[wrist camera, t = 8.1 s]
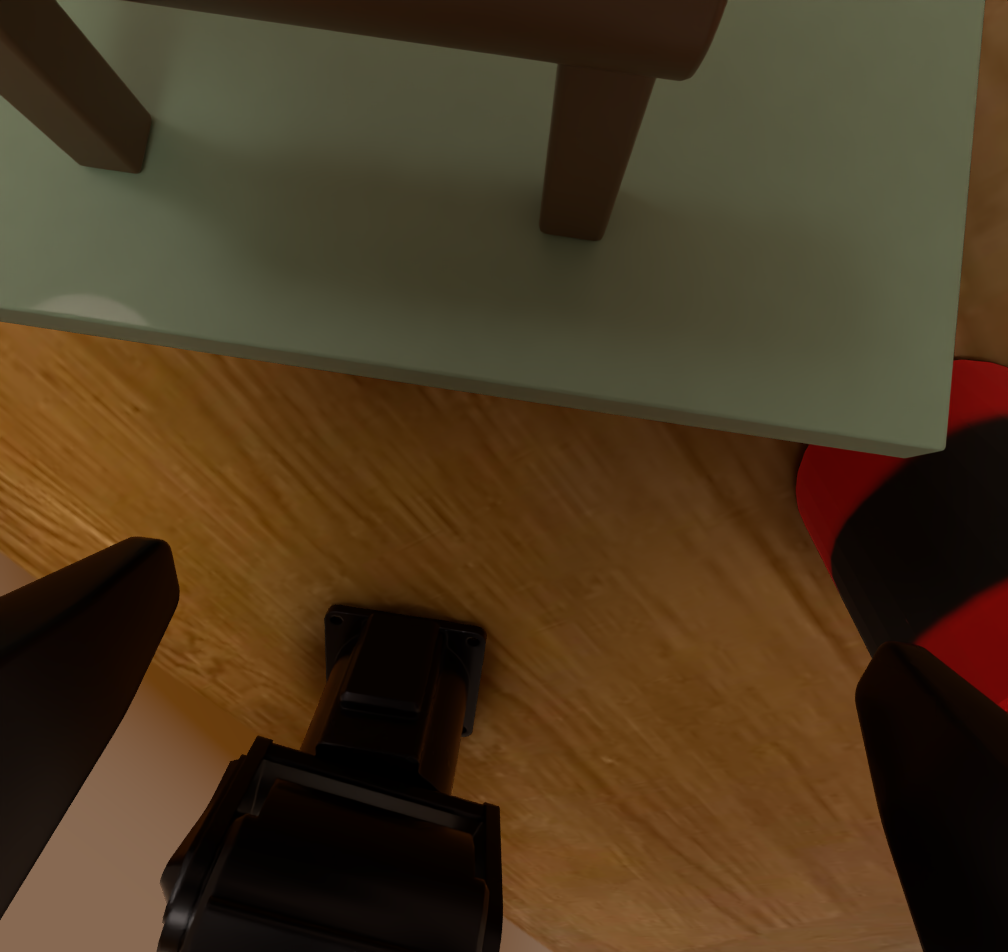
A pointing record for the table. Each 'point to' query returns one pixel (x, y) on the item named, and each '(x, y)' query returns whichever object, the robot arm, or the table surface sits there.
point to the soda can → (925, 534)
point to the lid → (511, 197)
